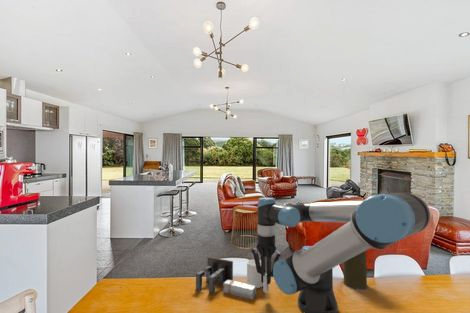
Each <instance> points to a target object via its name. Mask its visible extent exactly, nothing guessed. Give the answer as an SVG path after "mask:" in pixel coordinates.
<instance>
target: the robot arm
mask: <svg viewBox="0 0 470 313" xmlns="http://www.w3.org/2000/svg"><path fill="white" fill-rule="evenodd" d="M256 208H257V236H256V237H257V242H256V243H257V244H256V247H253V248H252V249H251V253H252V255H253V258H254V260H255V265H256V270H257V273H260V274H261V282H262V283H263V287H262V292H264V293H268V291H269V290H270V289H269V288H270V286H269V285H270V284H271V282H272V277H273V280H274V282H275V284H276V286H277V288H278V289H279V290H280V291H281V292H282V294H283V293H284V294H285V295H287V296H288V295H295V294H296V293H298V292H299V295H298V298H297V305H298V308H299V310H301V312H303V313H339V305H338V302H337V299H336V295H335V293H334V289H333V287H334V285H333V281H334V280H333V279H334V278H333V275H334V274H333V269H334V268H335V267H337V266H339V265H341V264H343V262H345V261H347V260H349V259H351V258H353V257H354V256H356V255H358V254H360V253H362V252H364V251H366V252H367V250H369V249H374V250H377V251H378V250H379V251H380V250H383V249H385V248H388V247H389V246H391V245H394V244H395V243H397V242H400V241H401V240H404V239H405V238H407V237H410V236H412V235H416V234H419V233H421V232H422V231H424V230H425V229H426V228H427V227H428V225H429V223H430V221H431V212H430V208H429V206H428V204H427V203H426V202H425V200H423V199H422V198H421V197H419V195H415V194H413V193H410V192H403V191H402V192H393V193H378V194H374V195H370V196H369V197H366V198H365V199H363V200H347V201H325V202H304V203H297V204H295V203H294V204H286V205H285V204H284V205H283V204H276V199H275V198H273V197H259V198H258V200H257V207H256ZM304 222H314V223H315V222H320V223H344V224H343V225H342V226H340V227H339V228H337V229H336V230H334V231H332V232H331V233H330V234H328V235H326V237H324V238H321V240H319V241H318V242H316V243H315V244H313V245H304V246H302V248H301V249H298V250H295V251H294V252H292V253H291V254H290V255H288V256H287V257H285V258H280V257H281V256H282V252H281V251H279V250H277V247H276V235H275V234H276V225H281V226H284V227H287V228H288V227H289V228H294V227H295V228H296V227H297V225H299V224H300V223H304ZM259 255H260V256H259ZM273 255H274V259H273V264H272V257H273ZM260 260H261V265H260Z"/></svg>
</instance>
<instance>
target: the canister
mask: <svg viewBox="0 0 470 313" xmlns="http://www.w3.org/2000/svg"><path fill="white" fill-rule="evenodd" d="M342 265H343V266H342V267H343V285H345V286H346V287H348V288H349V289H353V290H361V291H362V290H365V289H367V288H368V284H367V283H368V282H367V280H368V279H367V274H368V272H367V250H366V251H364V252H362V253H360V254H358V255H356V256H354V257H353V258H351V259H349V260H347V261H345V262H343V263H342Z"/></svg>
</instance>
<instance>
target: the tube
mask: <svg viewBox="0 0 470 313" xmlns="http://www.w3.org/2000/svg"><path fill="white" fill-rule="evenodd" d="M222 290H223V293H225V294H229V295H233V296H237V297H241V298H244V299H248V300H254V298H255V297H256V296H257V288H256V286H254V285H249V284H247V283H245V282H240V281H236V280H227V281H224V284H223V289H222Z"/></svg>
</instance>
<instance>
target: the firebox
mask: <svg viewBox="0 0 470 313" xmlns="http://www.w3.org/2000/svg"><path fill="white" fill-rule="evenodd" d="M205 272H206V274H205ZM205 275H206V276H205ZM203 276H205V277H206V282H208V294H210V295H211V294H213V295H214V294H215V292H216V280H217V279H219V280H218V285H220V284H222V285H221V286H224V282H225V281H227V280H233V279H234V261H233V260H228V259H225V258H224V259H223V258H218V257H214V256H213V257H212V256H207V265H206V267H204V270H200V271H198V272H196V274H195V290H197V291H201V290H202V289H203ZM216 278H217V279H216ZM233 281H234V280H233Z"/></svg>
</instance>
